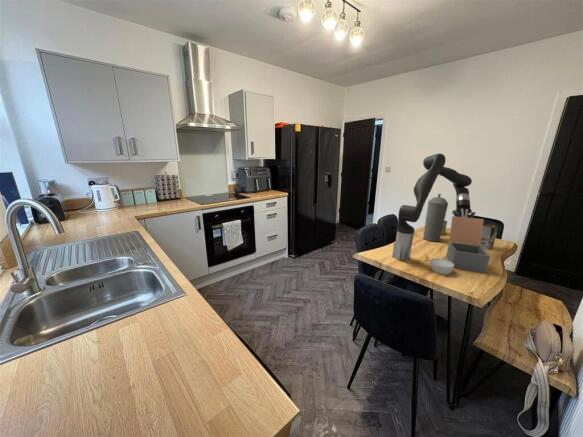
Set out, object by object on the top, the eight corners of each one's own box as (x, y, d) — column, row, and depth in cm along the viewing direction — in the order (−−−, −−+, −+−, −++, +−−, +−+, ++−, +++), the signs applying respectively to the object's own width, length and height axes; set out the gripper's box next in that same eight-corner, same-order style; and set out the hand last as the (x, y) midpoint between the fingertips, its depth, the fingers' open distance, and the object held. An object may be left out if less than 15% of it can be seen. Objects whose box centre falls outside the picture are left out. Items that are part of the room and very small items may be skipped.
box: (485, 272, 130) (490, 256, 128) (451, 267, 136) (455, 251, 133) (476, 260, 145) (480, 245, 142) (446, 256, 150) (449, 241, 148)
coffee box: (488, 250, 161) (493, 227, 157) (477, 247, 166) (482, 225, 162) (493, 247, 166) (499, 225, 161) (482, 244, 171) (487, 223, 167)
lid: (483, 219, 141) (483, 219, 142) (452, 216, 147) (452, 216, 148) (480, 245, 142) (479, 245, 143) (449, 241, 148) (448, 241, 149)
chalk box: (436, 235, 188) (439, 217, 184) (426, 231, 197) (430, 214, 193) (445, 234, 191) (448, 217, 187) (435, 231, 199) (439, 214, 195)
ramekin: (424, 268, 135) (426, 259, 134) (437, 264, 140) (439, 256, 138) (443, 277, 125) (445, 268, 124) (457, 273, 130) (459, 264, 128)
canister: (444, 242, 174) (454, 195, 165) (428, 242, 173) (437, 195, 164) (433, 236, 187) (442, 192, 177) (418, 236, 186) (425, 192, 176)
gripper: (453, 197, 156) (453, 220, 149) (477, 199, 151) (479, 223, 144) (449, 204, 162) (450, 226, 155) (472, 206, 158) (474, 228, 150)
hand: (464, 224), depth 149 cm, fingers closed
